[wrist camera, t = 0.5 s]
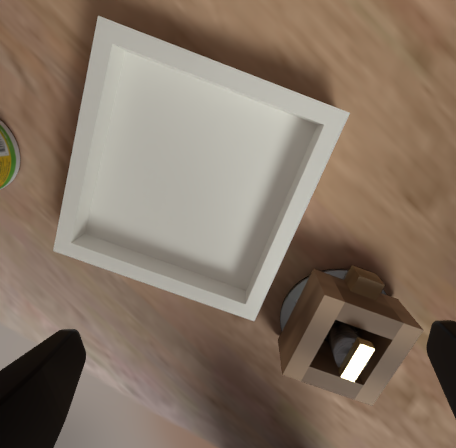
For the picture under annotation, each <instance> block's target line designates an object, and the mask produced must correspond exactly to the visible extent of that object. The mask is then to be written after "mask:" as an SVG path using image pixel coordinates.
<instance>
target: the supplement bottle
mask: <svg viewBox="0 0 456 448" xmlns="http://www.w3.org/2000/svg"><path fill="white" fill-rule="evenodd" d="M19 167H20V153H19V148H18V145H17V142H16V140H15V138H14V136H13V134H12V133H11V131H10V130H9V129H8V127H7V126H6V125H5V124H4V123H3V122H2V121H0V189H2V188H4V187H6V186H7V185H9V184H10V183H11V182H12V181H13V180H14V178H15V177H16V175H17V173H18V170H19Z"/></svg>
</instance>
